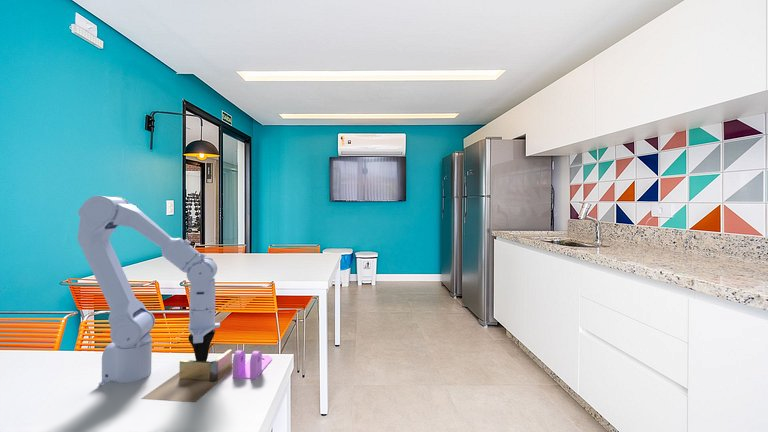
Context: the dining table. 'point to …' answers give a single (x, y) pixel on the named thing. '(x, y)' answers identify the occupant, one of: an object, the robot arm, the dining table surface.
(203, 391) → the walnut board
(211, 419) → the dining table surface
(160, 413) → the dining table surface
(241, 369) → the bracket
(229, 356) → the fixed leaf
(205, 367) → the swing leaf
